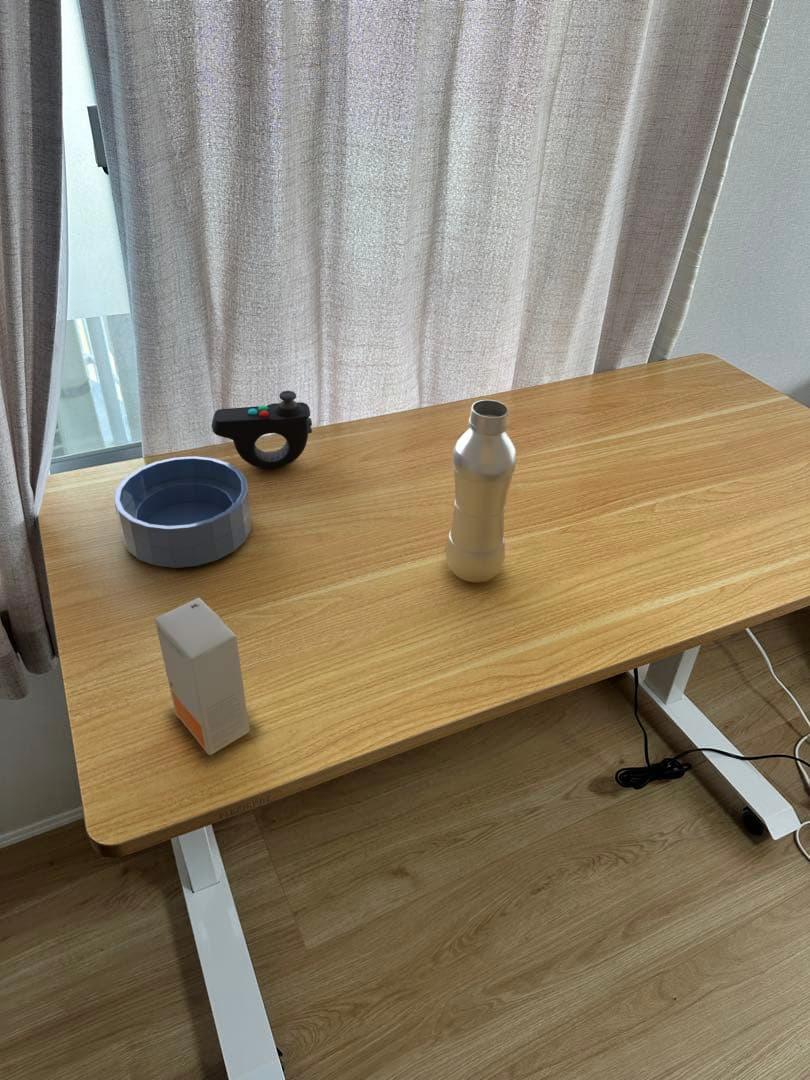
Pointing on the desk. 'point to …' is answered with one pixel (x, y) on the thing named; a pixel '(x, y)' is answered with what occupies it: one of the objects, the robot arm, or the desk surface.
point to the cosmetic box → (204, 674)
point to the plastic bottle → (481, 493)
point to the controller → (266, 430)
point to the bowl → (183, 511)
